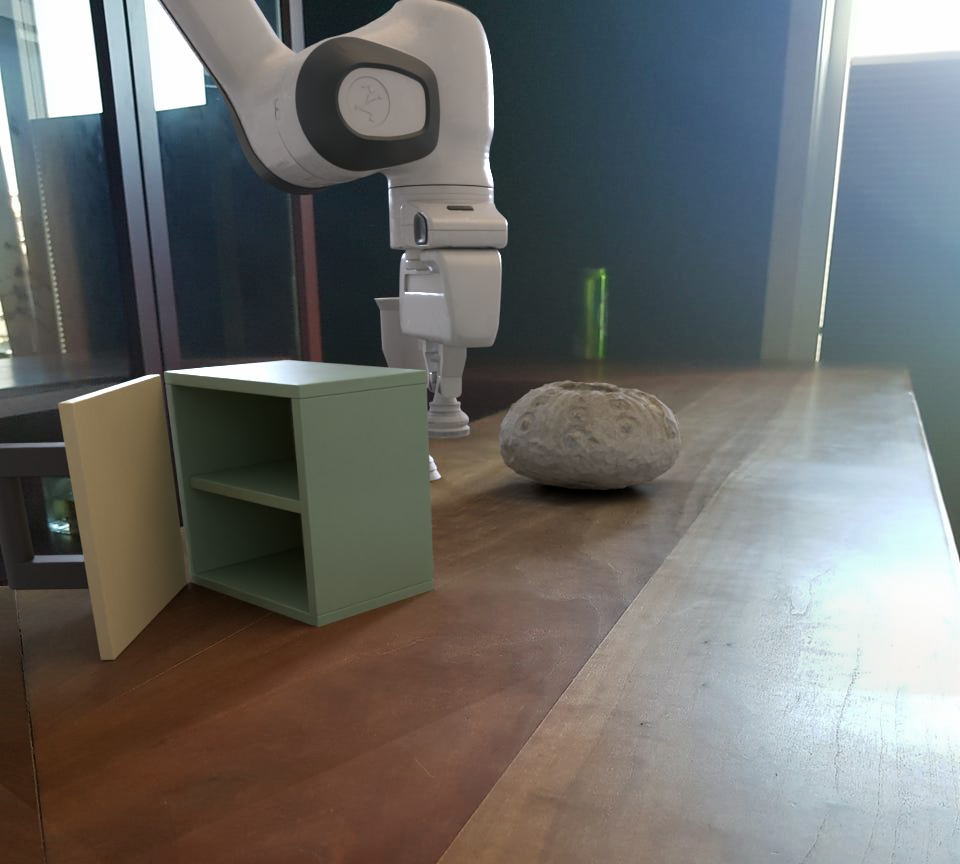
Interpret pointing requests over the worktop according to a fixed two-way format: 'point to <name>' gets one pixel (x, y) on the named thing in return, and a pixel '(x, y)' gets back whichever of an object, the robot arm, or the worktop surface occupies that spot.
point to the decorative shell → (589, 436)
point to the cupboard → (304, 484)
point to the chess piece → (445, 413)
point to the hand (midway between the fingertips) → (444, 394)
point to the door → (104, 509)
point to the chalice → (401, 348)
